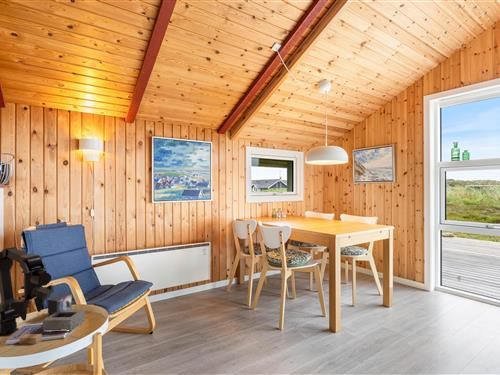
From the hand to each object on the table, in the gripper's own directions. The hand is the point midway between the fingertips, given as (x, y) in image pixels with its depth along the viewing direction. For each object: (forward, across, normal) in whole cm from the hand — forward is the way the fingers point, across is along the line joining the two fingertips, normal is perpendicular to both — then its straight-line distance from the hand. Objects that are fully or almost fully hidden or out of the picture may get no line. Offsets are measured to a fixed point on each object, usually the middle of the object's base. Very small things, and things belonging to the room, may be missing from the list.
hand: (32, 315), depth 134 cm
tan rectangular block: (+12, -1, 0) cm, 12 cm away
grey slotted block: (+12, +14, -6) cm, 20 cm away
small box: (+12, +28, +6) cm, 32 cm away
